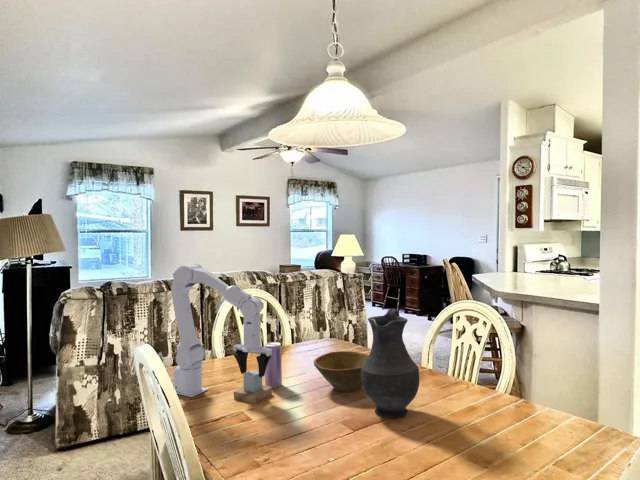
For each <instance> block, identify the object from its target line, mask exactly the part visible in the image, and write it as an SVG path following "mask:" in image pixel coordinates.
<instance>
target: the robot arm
mask: <svg viewBox="0 0 640 480" xmlns="http://www.w3.org/2000/svg"><path fill="white" fill-rule="evenodd" d="M172 278H173V279H172V280H173V281H172V285H171V289H170V291H171V292H170V293H171V297H172V303H173V309H174V315H175V320H176V327H177V332H178V336H179V343H178V344H177V346H176V356H175V362H176V364H177V366H176V367H175V368H174V371H173V376H172V377H173V380H172V381H173V388H174V387H175V390H176V392H177V394H176V395H180V396H181V395H182V396H184V397H189V398H192V397H196V396H197V395H200V394H202V393H203V392H206V391H208V390H209V389H208V388H207V387H203V360H204V359H205V356H206V350H205V348H204V347H203V345H202V341H201V339H200V338H199V337H197V334H196V328H195V322H194V318H193V317H194V316H193V312H192V307H191V300H190V297H189V296H190V294H189V292H190V291H191V290H192V288H193V287H194V286H195V285H197V284H204V285H207V286H208V287H210V288H212V289H214V290H216V291H217V292H218V293H220V294H222V295H223V298H224V300H225V301H226V302H228V303H229V304H231V305H232V306H234V307H235V308H237V309H239V311H240V313H241V314H242V316H243V344H239V343H238V344H234V345H233V352H235V353H233V357H234V359H235V360H236V361H237V364H238V367H239V371H240V374H242V375H243V374H244V373H247V369H248V368H247V366H248V364H247V362H248V356H249V353H251V354H256V355H257V356H256V362H257V366H258V371H259V377H262V378H263V377H265V371H266V367H267V364H268V362H269V360H270V358H271V355H272V349H269V348H265V346H262V335H261V334H262V326H261V323H262V322H261V321H262V320H261V318H262V317H261V315H262V314H261V312H262V310H263V308H264V303H263V301H262V300H261V299H260V297H258V296H252V293H247V292H245V291H244V290H242V289H241V286H240V285H234V284H232V285H230V286H229V284H227V283H226V282H225V281H223V280H221V279H220V278H219V277H217V276H216V275H215V274H213V273H212V272H210V271H209V270H208V269H207V268H206V267H203V266H202V265H200V264H197V263H194V264H189V265H180V266H178V267H177V268H176V269H175V271H174V272H173V273H172Z"/></svg>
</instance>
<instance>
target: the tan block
mask: <svg viewBox="0 0 640 480" xmlns="http://www.w3.org/2000/svg"><path fill="white" fill-rule="evenodd" d="M272 395H273V388H272V387H268V386H266V385H262V389H260V390H258V391H256V392H250V391H245V390H244V386H243V387H239V389H237V390H234V391H233V399H234V400H237V401H240V402H241V401H242V402H246V403H251V404H258V403H260V402H262V401H264V400H265V399H266V398H268V397H270V396H272Z"/></svg>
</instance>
